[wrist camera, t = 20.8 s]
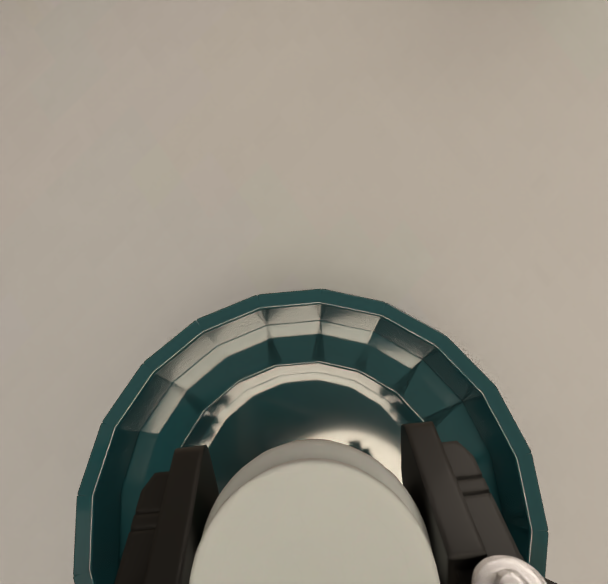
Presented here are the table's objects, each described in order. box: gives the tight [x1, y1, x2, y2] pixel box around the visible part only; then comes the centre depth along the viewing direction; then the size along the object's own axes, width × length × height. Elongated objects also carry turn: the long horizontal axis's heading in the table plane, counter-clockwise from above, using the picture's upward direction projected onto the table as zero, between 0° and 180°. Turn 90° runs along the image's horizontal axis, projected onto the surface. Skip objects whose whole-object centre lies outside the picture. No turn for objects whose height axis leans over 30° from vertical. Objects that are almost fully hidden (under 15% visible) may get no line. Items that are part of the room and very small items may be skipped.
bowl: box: [73, 289, 548, 584], centre depth 19 cm, size 15×15×6 cm
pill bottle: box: [189, 439, 440, 584], centre depth 12 cm, size 5×5×8 cm
